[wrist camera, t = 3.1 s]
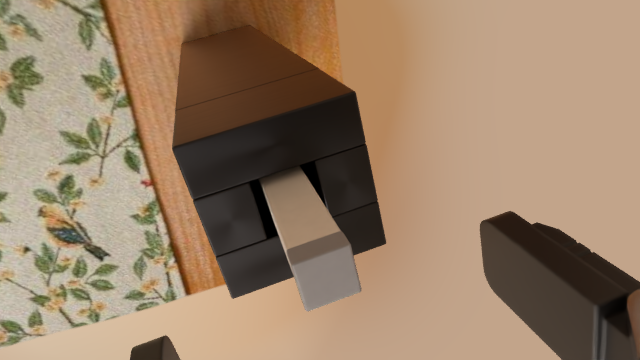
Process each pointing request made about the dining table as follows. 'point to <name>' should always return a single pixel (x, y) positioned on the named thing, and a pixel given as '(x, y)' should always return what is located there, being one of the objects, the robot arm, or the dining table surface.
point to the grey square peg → (310, 239)
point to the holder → (267, 149)
